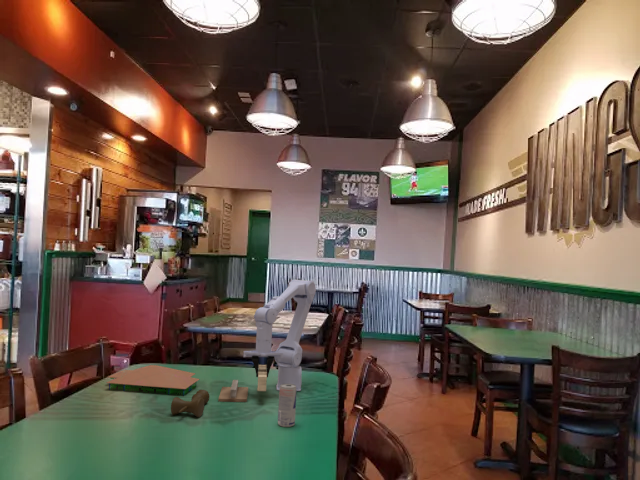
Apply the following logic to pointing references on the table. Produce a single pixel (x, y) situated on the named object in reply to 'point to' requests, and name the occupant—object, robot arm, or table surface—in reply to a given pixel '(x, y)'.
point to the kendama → (191, 404)
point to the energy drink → (287, 405)
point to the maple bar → (262, 378)
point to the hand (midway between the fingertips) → (262, 376)
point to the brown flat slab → (154, 378)
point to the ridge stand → (233, 393)
